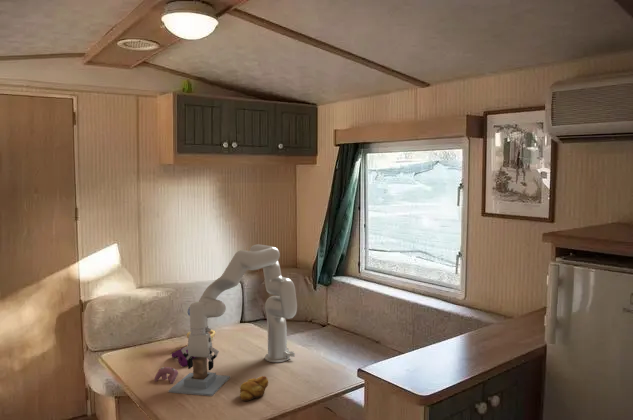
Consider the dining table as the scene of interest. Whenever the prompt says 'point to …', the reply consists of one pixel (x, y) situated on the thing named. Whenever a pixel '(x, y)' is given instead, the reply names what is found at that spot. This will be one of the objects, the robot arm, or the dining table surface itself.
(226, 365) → the dining table surface
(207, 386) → the grey square socket base
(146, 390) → the dining table surface
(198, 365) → the walnut block
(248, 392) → the bread roll
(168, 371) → the video game controller
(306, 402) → the dining table surface
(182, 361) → the mounting bracket
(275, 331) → the robot arm
